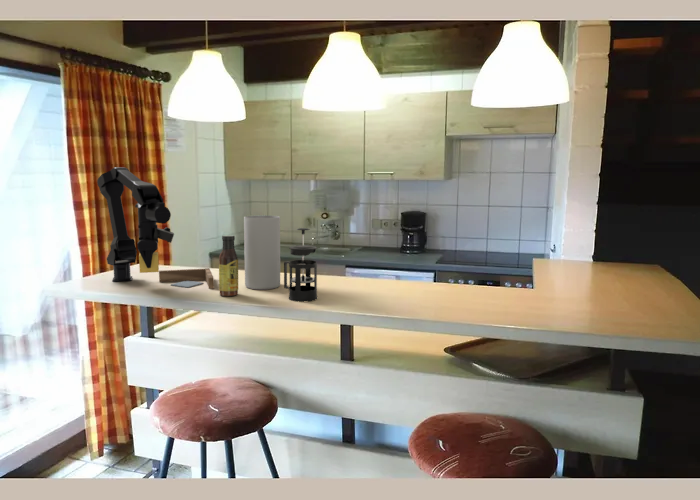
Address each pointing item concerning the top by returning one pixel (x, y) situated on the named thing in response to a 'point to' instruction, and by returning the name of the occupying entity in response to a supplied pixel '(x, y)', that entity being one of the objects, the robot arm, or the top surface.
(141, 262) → the ochre cube
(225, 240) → the sauce bottle
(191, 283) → the pad
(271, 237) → the cylinder vase
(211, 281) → the corner arena
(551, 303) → the top surface
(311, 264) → the french press
